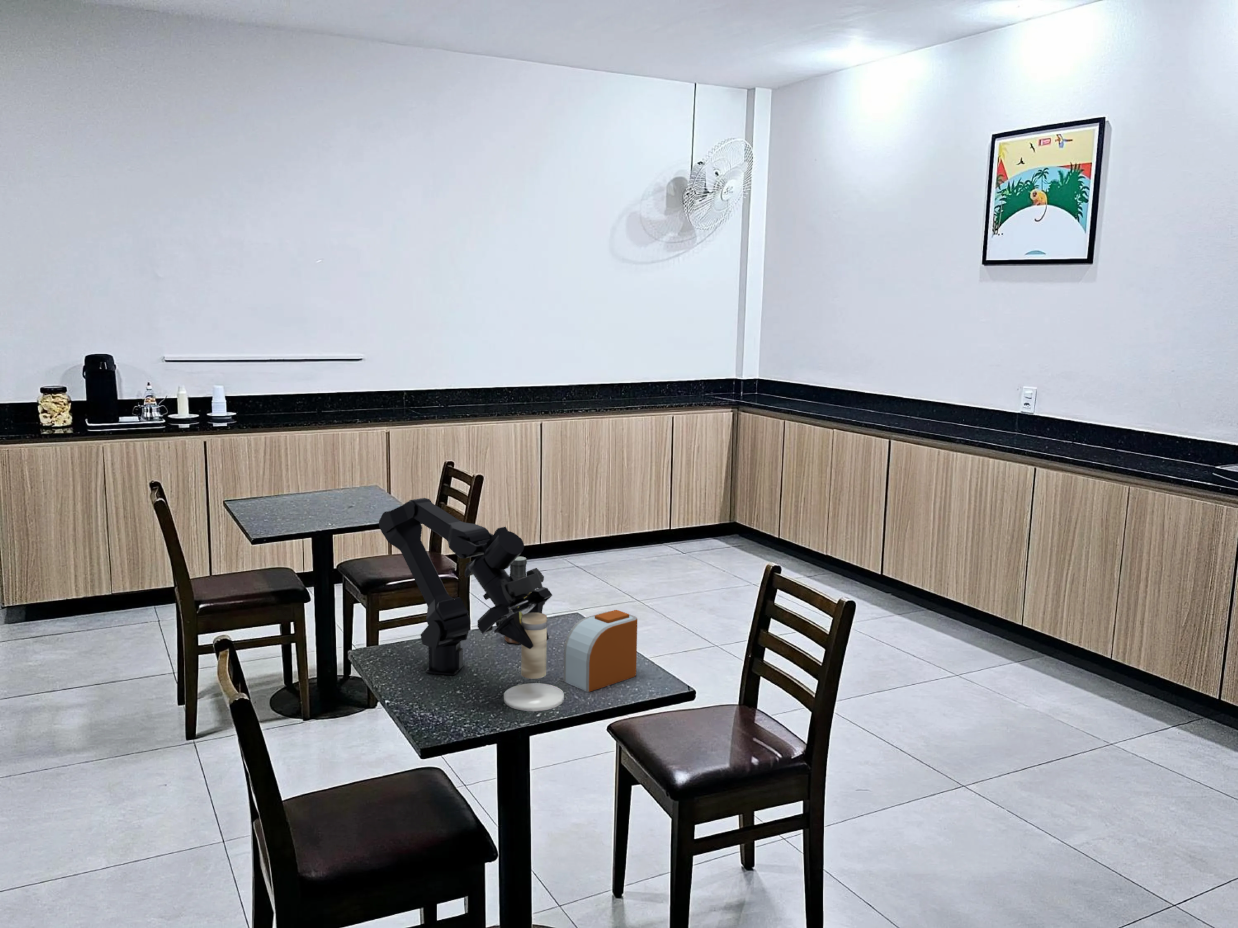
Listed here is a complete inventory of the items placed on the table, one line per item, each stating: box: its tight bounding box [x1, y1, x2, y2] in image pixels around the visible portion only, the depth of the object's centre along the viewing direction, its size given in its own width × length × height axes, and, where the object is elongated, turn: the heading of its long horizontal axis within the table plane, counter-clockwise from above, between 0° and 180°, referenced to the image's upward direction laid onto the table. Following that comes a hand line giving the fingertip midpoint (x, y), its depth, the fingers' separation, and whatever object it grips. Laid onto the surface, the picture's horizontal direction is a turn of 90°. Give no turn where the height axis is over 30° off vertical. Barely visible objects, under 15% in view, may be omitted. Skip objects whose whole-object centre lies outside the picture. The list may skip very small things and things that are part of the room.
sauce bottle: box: [504, 556, 531, 645], centre depth 235 cm, size 7×6×20 cm
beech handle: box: [520, 612, 548, 680], centre depth 200 cm, size 5×5×12 cm
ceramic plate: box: [503, 682, 565, 712], centre depth 202 cm, size 12×12×1 cm
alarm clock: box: [562, 609, 638, 693], centre depth 213 cm, size 15×8×14 cm, turn 133°
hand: (539, 643), depth 199 cm, fingers closed on beech handle, 5 cm apart
